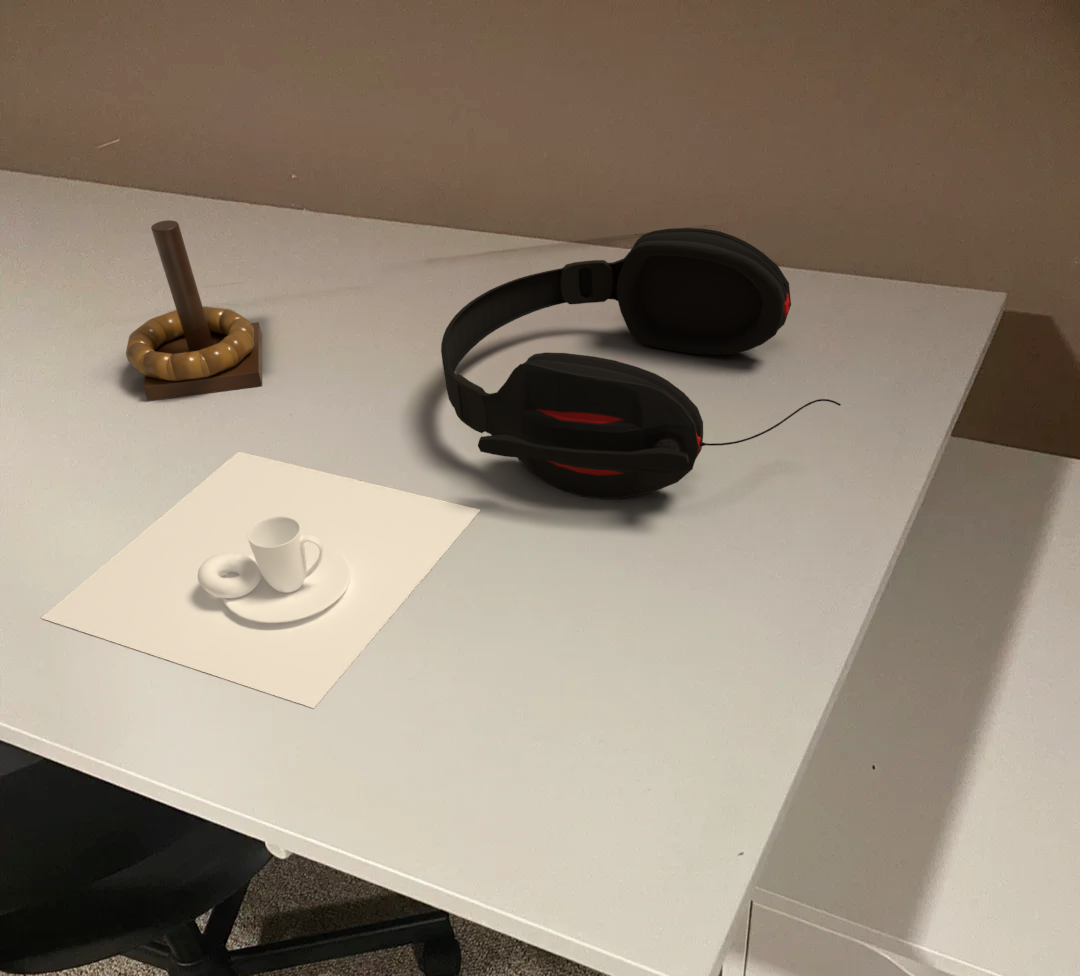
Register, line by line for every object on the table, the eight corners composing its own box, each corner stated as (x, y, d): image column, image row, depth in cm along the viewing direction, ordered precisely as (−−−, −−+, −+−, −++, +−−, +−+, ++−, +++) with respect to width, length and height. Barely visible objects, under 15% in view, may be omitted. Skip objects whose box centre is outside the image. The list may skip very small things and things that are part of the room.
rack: (147, 401, 80) (95, 256, 71) (155, 349, 86) (108, 210, 78) (262, 385, 80) (224, 241, 72) (262, 335, 87) (227, 196, 78)
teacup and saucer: (186, 606, 62) (165, 552, 59) (262, 533, 67) (247, 480, 64) (305, 642, 59) (290, 588, 56) (376, 564, 64) (365, 510, 61)
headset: (847, 515, 65) (874, 390, 59) (442, 537, 65) (426, 415, 59) (765, 320, 85) (779, 210, 78) (453, 337, 85) (441, 228, 78)
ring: (126, 392, 78) (117, 368, 77) (137, 334, 85) (129, 311, 84) (256, 375, 79) (249, 351, 78) (256, 319, 86) (251, 296, 85)
